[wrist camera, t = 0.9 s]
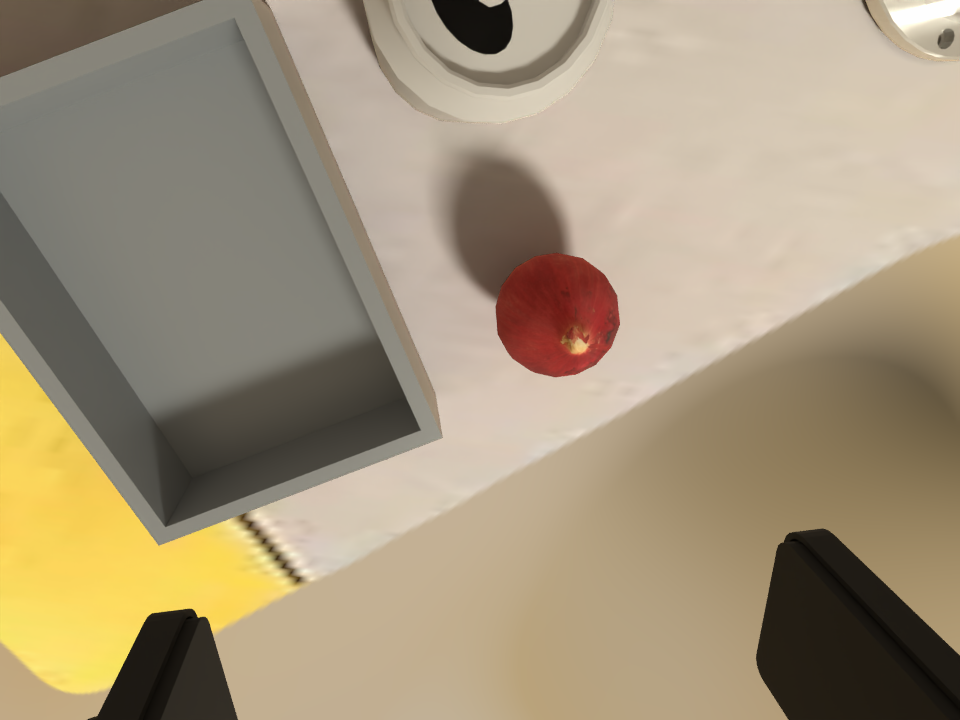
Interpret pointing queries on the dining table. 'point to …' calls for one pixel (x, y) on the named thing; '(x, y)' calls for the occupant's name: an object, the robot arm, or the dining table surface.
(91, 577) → the dining table surface
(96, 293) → the tote
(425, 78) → the can
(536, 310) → the onion
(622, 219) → the dining table surface
